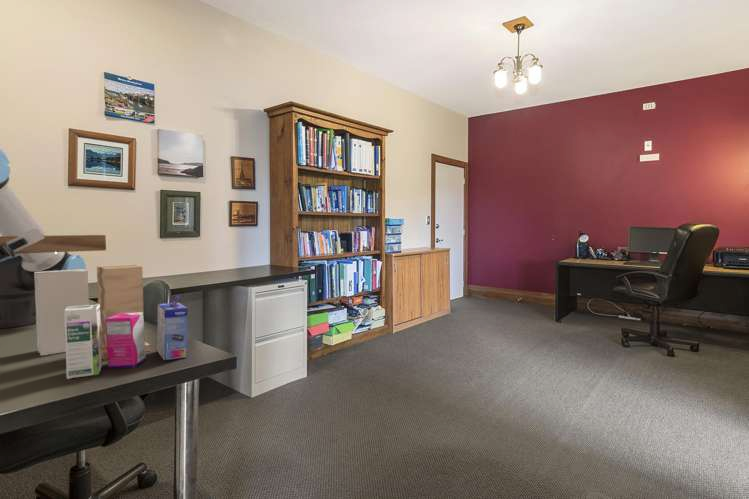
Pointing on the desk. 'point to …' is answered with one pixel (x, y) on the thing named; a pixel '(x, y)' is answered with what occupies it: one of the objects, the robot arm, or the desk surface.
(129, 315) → the supplement box
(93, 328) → the syrup box
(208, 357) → the desk surface
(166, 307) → the ink cartridge box
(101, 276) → the stand
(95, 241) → the rail
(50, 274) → the pedestal
